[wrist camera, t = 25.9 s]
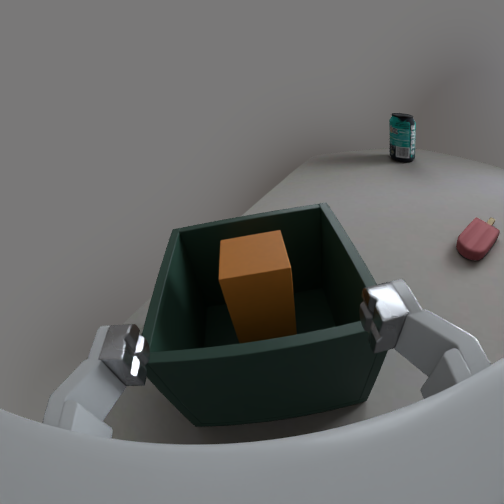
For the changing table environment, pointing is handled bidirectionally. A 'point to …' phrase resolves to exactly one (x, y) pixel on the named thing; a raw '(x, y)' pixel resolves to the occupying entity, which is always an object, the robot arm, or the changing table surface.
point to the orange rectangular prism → (258, 286)
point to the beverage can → (402, 137)
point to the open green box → (265, 351)
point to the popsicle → (477, 239)
